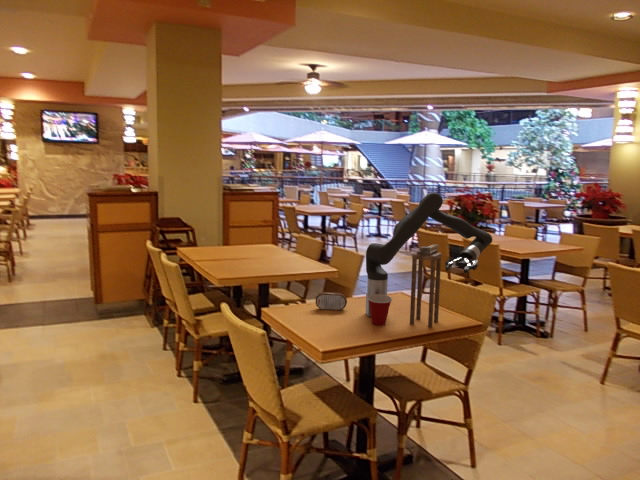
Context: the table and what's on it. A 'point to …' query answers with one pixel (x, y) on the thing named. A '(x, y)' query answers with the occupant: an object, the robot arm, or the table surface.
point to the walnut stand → (431, 257)
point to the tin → (331, 301)
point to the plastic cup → (379, 308)
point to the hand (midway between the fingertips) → (455, 270)
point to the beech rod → (428, 249)
